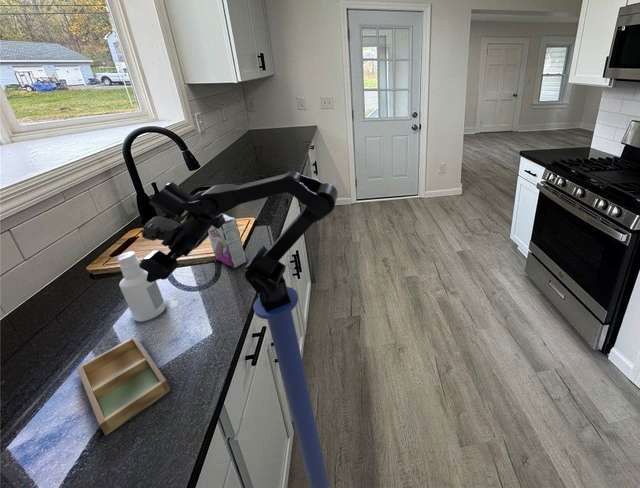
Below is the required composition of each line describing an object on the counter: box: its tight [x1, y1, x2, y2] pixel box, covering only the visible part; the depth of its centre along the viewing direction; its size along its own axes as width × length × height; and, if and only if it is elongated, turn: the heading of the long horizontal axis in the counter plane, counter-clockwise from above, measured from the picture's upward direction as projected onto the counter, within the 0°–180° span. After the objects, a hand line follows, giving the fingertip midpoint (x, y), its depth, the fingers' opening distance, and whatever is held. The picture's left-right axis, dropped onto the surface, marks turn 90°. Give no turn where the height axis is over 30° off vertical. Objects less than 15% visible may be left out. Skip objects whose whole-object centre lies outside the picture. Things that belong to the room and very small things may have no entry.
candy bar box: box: [208, 213, 248, 269], centre depth 102 cm, size 11×5×16 cm, turn 58°
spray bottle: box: [117, 250, 166, 322], centre depth 80 cm, size 7×7×18 cm
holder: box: [76, 335, 172, 437], centre depth 64 cm, size 10×19×3 cm, turn 53°
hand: (161, 269), depth 79 cm, fingers open, 9 cm apart
